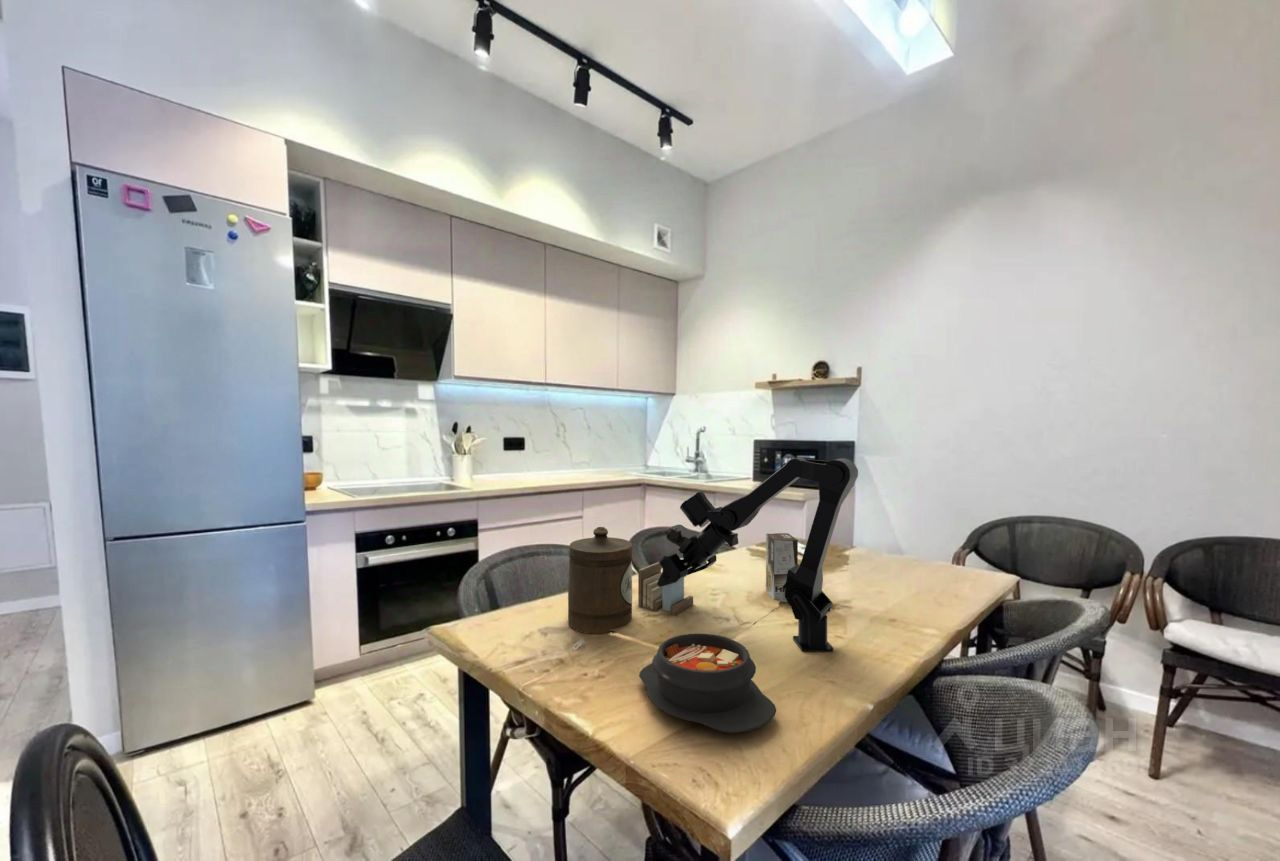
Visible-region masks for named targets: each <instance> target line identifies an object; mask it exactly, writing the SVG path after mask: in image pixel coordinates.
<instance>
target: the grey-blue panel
mask: <svg viewBox="0 0 1280 861" xmlns="http://www.w3.org/2000/svg"><path fill="white" fill-rule="evenodd" d="M679 558H680V559H681V560H683V559H684V558H683V557H679ZM684 598H685V578H683V579H682V580H681V581H678V582H676V583H672V584H669V585H665V586H662V610H666V611H670V606H671V605H673V604H675V603H677V602H679V601H680V600H682V599H684Z"/></svg>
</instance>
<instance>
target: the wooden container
mask: <svg viewBox="0 0 1280 861" xmlns="http://www.w3.org/2000/svg"><path fill="white" fill-rule="evenodd" d="M592 533H593V535H594V537H587V538H581V539H576V540H574V541H572V542H571V543H570V544H569V549H568V550H569V551H568V555H569V556H568V585H567V586H568V588H567V589H568V590H567V592H568V593H567V604H568V605H567V611H568V612H567V622H568V625H569V626H571V627H572V628H571V627H570V628H571V629H573V628H574V629H573V630H575V631H577V630H578V632H580V631H581V632H580V633H584V632H585V634H590V633H593V634H592V635H602V634H603V633H606V634H611V633H610V632H612V633H616V631H614V630H617V629H620V628H623V627H625V626H628V624H629V623H631V622H632V618H633V572H632V570H633V569H632V568H633V567H632V566H633V564H632V560H633V543H632V541H629V540H628V539H627V540H626V539H625V538H619V537H610V536H609V537H608V534H609V531H608V529H607V528H605V527H604V526H598V527H596V528H594V529H593V532H592ZM596 633H597V634H596ZM603 635H604V634H603Z"/></svg>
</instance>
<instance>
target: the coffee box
mask: <svg viewBox="0 0 1280 861" xmlns="http://www.w3.org/2000/svg"><path fill="white" fill-rule="evenodd" d="M765 538H766V539H765V571H766V572H765V575H766V576H765V578H766V579H765V580H766V581H765V583H766V584H765V587H766V588H765V590H766V593H767V594H768V596H769V597H770V599H771V600H775V601H779V602H781V603H788V602H787V600H786V599H785V595H784V594H785V589H786V588H782V587H783V586H784V585H785V583H786V580H787V573H788V570H789V569H791V568H792V567H794V566H795V565H797V564H799V563H798V560H799V557H798V556H799V549H798V548H799V540H798V538H796V537H794V536H792V535H791V534H790V533H786V532H777V533H776V532H775V533H766V534H765Z"/></svg>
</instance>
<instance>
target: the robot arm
mask: <svg viewBox="0 0 1280 861" xmlns="http://www.w3.org/2000/svg"><path fill="white" fill-rule="evenodd" d="M858 477H859V469H858V468H857V466H856V464H855V463H854V462H853V461H852V460H850V459H848V458H844V457H843V458H836V459H831V460H829V461H828V460H819V459H808V458H804V457H794V458H790V459H788V461H787V462H786V463H785V464H784V465H783V466H782V467H780V468H779V469H777V470H776V471H775V472H774V473H772V475H769V477H768V478H767V479H765V480H764V481H763V482H761V483H760V484H759V485H758V486H756V487H755V488H754V489H753V490H751V491H750V492H749V493H748V494H746V495H744V496H742V497H740V498H738V499H735V500H732V501H731V502H729V503H727V504H725V505H723V506H719V507H715V506H714V505H713V504H712V502H710V500H709V499H708V498H707V495H706V494H705V493H704V491H702V490H701V491H697V492H696V493H695V494H694V495H692V496H690V497H689V498H688V499H686V500H684V501H683V502H682V503H681V505H680V507H679V509H680V511H681V512H682V513H683V514H684V515H685V517H686V518H687V519H688V521H689V522H690V523H691V524H692V526H693V527H694V528H695V527H700V528H703V529H702V530H701V531H700V532H699V533H698V534H697V535H696V534H695V533H694V532H693V531H691V530H690V529H688V528H687V527H685V526H684V525H682V524H676V525H673V526H671V527H670V528H669V529H668V530H666V532H665V534H666V539H667V540H668V541H669V542H670V543H672V544H675V546H677V547H679V548H678V551H679V553H680V554H682V558H683V560H681V559H680V558H681V557H680V556H679V555H678V554H677V553H674V552H669V553H668V554H665V555H663V556H662V557H661V558H660V559H659V560H658V562H659V563H660V565H661V568H662V570H661V572H662V574H661V576H660V578H659V580H658V582H657V585H658V586H659V587H662V586H665V585H669V584H672V583H676V582H678V581H681V580H682V579H683V578H684V579H685V578H686V577H687V576H690V575H692V574H694V573H698V572H701V571H703V570H705V569H707V568H710V567H712V566H713V565H714V564H715V563H716V562H717V554H718V553H719V552H718V551H719V550H720V549H721V548H723V546H724V545H725V544H726V543H727V545H728V546H729V547H731V548H732V547H734V546H736V545H738V544H739V537H738V536H739V533H738V532H733V531H736V530H740V529H742V528H744V527H746V526H748V525H749V524H750V523H751V522H752V521H753V520H754V519H755V517H756V516H757V515H758V514H759V512H760V511H761V509H762V508H763V507H764V506H765V505H766V504H768V503H769V502H770V501H772V500H773V499H774V498H776V497H777V496H778V495H779V494H781V493H782V492H783V491H784V490H786V489H787V488H789V487H790V486H791V485H793V484H794V483H795V482H796V481H798V480H799V479H800V478H801V479H803V480H804V479H805V480H809V481H811V482H813V481H814V482H818V497H819V500H818V504H817V507H816V510H815V514H814V517H813V518H814V519H813V521H812V524H811V527H810V531H809V535H808V538H807V541H806V545H805V548H804V551H803V555H802V558H801V561H800V563H798V564H797V565H795V566H794V567H792V568H791V569H789V570H788V573H787V580H786V583H785V585H784V586H783V587H782V588H786V589H785V594H784V595H785V599H786V600H787V602H786V603H787V604H788V605H789V606H790V607H791V611H792V613H793V616H794V619H795V620H797V625H798V632H797V633H798V635H793V636H792V640H793V641H794V642H795V643H796V645H797V646H798V648H799V649H800V650H801V651H802V652H834V649H835V648H834V647H833V646H832V644H830V642H829V641H828V615H827V614H828V613H830V612H831V610H832V607H833V605H834V604H833V603H834V602H833V601H832V600H831V599H830V598H829V597H828V595H826V594H825V592H824V591H823V582H824V578H823V577H824V574H823V565H824V563H825V559H826V557H827V556H826V555H827V553H828V551H829V550H828V549H829V547H830V544H831V543H830V542H831V540H832V537H833V533H834V530H835V527H836V523H837V520H838V516H839V513H840V510H841V507H842V504H843V503H844V502H845V500H846V498H847V497H848V495H849V494H850V493H851V490H852V488H853V487H854V484H855V483H856V481H857V479H858Z"/></svg>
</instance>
